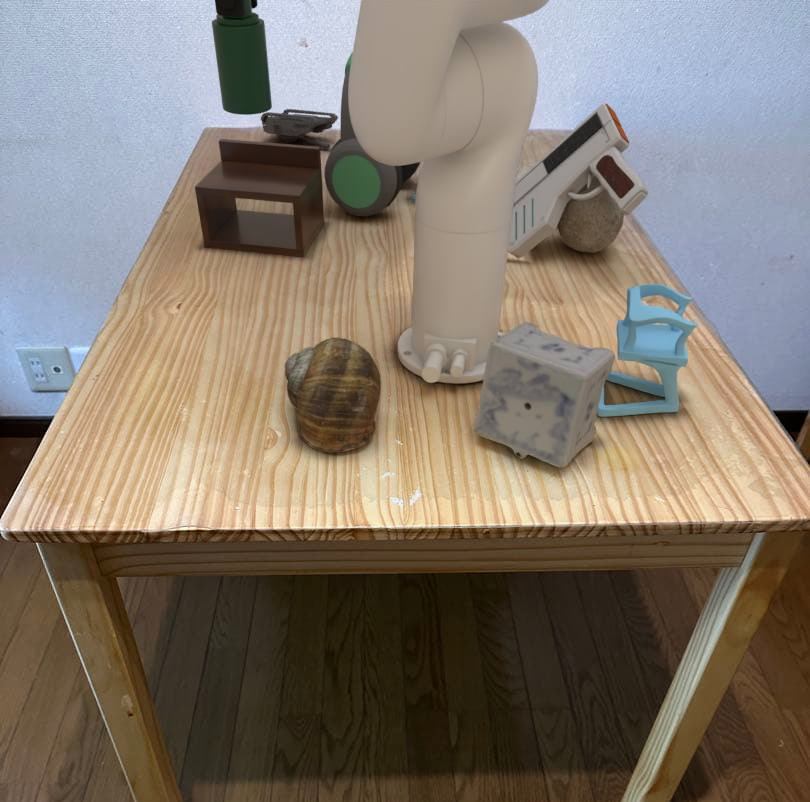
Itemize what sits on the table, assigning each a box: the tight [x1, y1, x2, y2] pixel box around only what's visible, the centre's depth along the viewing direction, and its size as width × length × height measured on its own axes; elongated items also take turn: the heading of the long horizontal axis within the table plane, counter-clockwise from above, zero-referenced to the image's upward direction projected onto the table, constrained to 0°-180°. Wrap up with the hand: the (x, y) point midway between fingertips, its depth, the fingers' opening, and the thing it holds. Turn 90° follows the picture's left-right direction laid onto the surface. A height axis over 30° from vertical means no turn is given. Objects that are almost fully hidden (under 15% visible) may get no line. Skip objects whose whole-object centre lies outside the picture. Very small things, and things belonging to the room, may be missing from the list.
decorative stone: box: [557, 176, 625, 254], centre depth 104 cm, size 10×8×10 cm
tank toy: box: [260, 108, 339, 150], centre depth 136 cm, size 12×10×5 cm
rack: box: [194, 138, 325, 258], centre depth 106 cm, size 11×14×10 cm
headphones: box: [324, 51, 421, 217], centre depth 113 cm, size 19×11×20 cm, turn 164°
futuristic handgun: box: [508, 102, 649, 259], centre depth 100 cm, size 3×20×15 cm
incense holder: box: [473, 321, 616, 468], centre depth 73 cm, size 10×8×10 cm
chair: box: [596, 283, 698, 418], centre depth 78 cm, size 8×8×12 cm
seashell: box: [284, 336, 382, 453], centre depth 76 cm, size 11×9×8 cm
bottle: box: [211, 0, 273, 116], centre depth 91 cm, size 6×6×16 cm
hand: (237, 9), depth 90 cm, fingers closed on bottle, 3 cm apart
